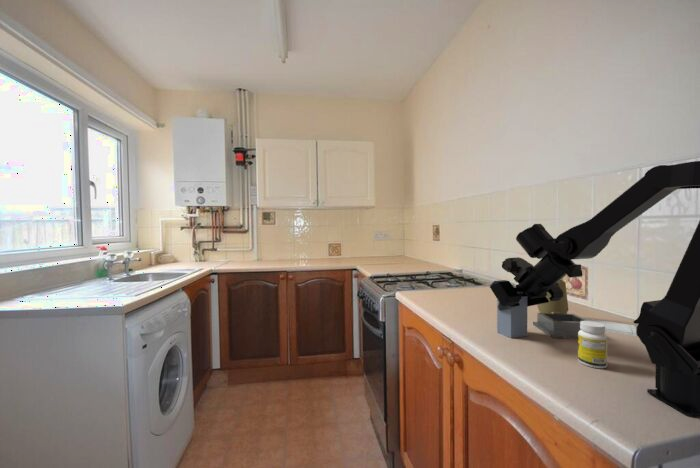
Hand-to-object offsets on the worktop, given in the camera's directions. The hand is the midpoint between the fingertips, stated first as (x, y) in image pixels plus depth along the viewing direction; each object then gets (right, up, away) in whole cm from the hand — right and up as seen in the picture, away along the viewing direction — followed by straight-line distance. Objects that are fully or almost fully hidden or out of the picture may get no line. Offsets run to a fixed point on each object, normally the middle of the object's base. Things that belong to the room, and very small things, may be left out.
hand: (507, 308), depth 79 cm
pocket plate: (+16, -7, 0) cm, 17 cm away
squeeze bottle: (+20, -7, +12) cm, 24 cm away
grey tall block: (0, -7, -1) cm, 7 cm away
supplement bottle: (+8, -7, -19) cm, 21 cm away
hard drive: (+30, -7, +3) cm, 31 cm away
